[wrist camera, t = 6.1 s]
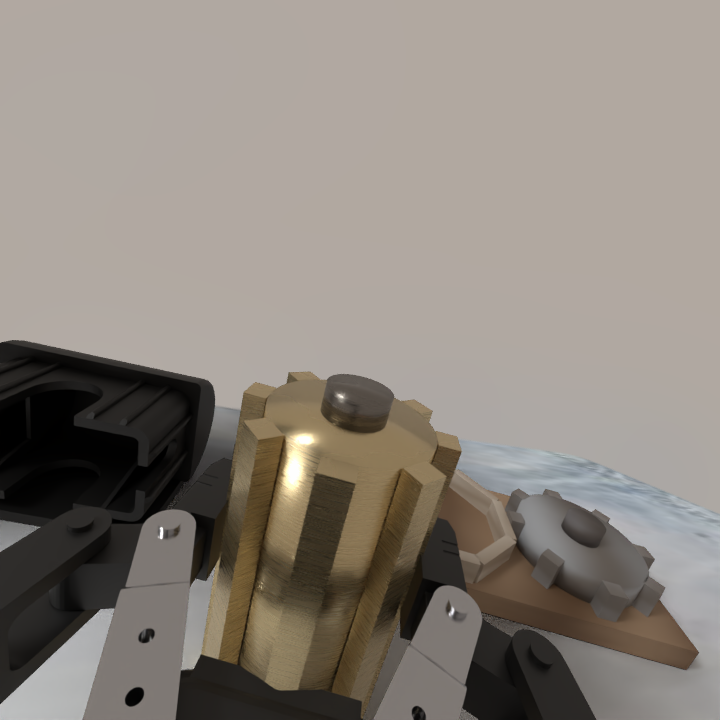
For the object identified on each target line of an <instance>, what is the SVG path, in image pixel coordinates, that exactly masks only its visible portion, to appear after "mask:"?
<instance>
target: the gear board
mask: <svg viewBox="0 0 720 720" xmlns="http://www.w3.org/2000/svg"><path fill="white" fill-rule="evenodd" d="M234 449H235V445H234ZM233 456H234V452H233ZM232 460H233V458H232ZM438 518H441V519H445V520H448V522H449V523H450V525H451V526H452V528H453V530H454V531H455V533H456V538H457V543H458V545H457V547H458V548H459V553H460V555H459V557H460V558H461V563H462V568H463V573H464V578H465V583H466V588H467V593H468V595H470V596H471V597H472V598H473V600H474V601H475V602H476V603H477V605H478V607H479V609H480V611H481V612H483V613H487V614H490V615H494V616H497V617H501V618H504V619H508V620H511V621H515V622H518V623H522V624H526V625H529V626H533V627H536V628H540V629H543V630H547V631H550V632H554V633H557V634H561V635H565V636H568V637H572V638H575V639H579V640H582V641H586V642H589V643H593V644H596V645H600V646H604V647H607V648H611V649H614V650H618V651H621V652H625V653H628V654H632V655H635V656H639V657H643V658H646V659H650V660H653V661H657V662H660V663H664V664H667V665H671V666H674V667H678V668H682V669H685V670H687V668H688V667H689V666H690V664H691V663H692V661H693V660H694V659H695V657H696V656H697V655H698V653H699V652H698V651H697V649H696V648H695V647H694V645H693V644H692V643H691V641H690V640H689V639H688V637H687V636H686V635H685V633H684V632H683V631H682V629H681V628H680V627H679V625H678V624H677V623H676V621H675V620H674V619H673V617H672V616H671V615H670V613H669V612H668V611H667V609H666V608H665V607H664V605H663V604H662V603H661V601H660V600H659V598H660V597H661V595H662V593H663V591H664V589H665V587H664V586H662V585H661V584H659V583H658V582H656V581H655V580H653V579H652V578H650V577H649V568H650V567H651V565H652V563H653V562H654V560H655V559H654V558H653V557H652V555H651V554H650V553H649V552H648V551H647V549H646V548H645V547H642V546H638V545H634V544H632V543H631V542H630V541H629V540H628V539H627V538H626V537H625V536H624V535H623V534H621V533H620V532H619V531H618V530H617V529H615V528H614V527H613V526H611V525H610V524H609V523H608V521H609V520H610V518H609V517H607V516H605V515H604V514H602V513H601V512H599V511H597V510H596V509H595V510H594V511H593V512H590V511H588V510H586V509H584V508H582V507H580V506H578V505H576V504H574V503H571V502H569V501H566V500H563V499H562V497H561V496H560V494H559V493H558V492H555V491H551V490H547V489H545V491H544V493H543V495H540V494H536V495H528V494H526V493H525V492H523V491H522V490H520V489H517V490H515V491H513V492H512V494H511V496H507V495H504V494H500V493H496V492H493V491H489V490H486V489H485V488H483V487H482V486H480V485H479V484H478V483H476V482H475V481H474V480H472V479H471V478H469V477H468V476H467V475H465V474H464V473H463V472H461V471H460V470H456V469H455V471H454V474H453V476H452V479H451V482H450V484H449V487H448V490H447V492H446V495H445V498H444V501H443V503H442V506H441V509H440V511H439V514H438Z"/></svg>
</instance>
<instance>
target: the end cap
mask: <svg viewBox="0 0 720 720" xmlns="http://www.w3.org/2000/svg"><path fill="white" fill-rule="evenodd" d="M214 408H215V394H214V389H213V386H212V384H211V383H210V382H209V381H207V380H205V379H201V378H196V377H191V376H187V375H182V374H178V373H173V372H168V371H163V370H159V369H154V368H149V367H145V366H140V365H135V364H131V363H126V362H121V361H116V360H112V359H107V358H103V357H98V356H93V355H89V354H84V353H79V352H75V351H70V350H65V349H61V348H56V347H50V346H47V345H42V344H37V343H32V342H28V341H19V340H12V341H6V342H1V343H0V520H5V521H11V522H17V523H22V524H28V525H34V526H40V527H42V526H44V525H45V524H47V523H49V522H50V521H52V520H54V519H55V518H57V517H58V516H60V515H62V514H64V513H66V512H68V511H70V510H74V509H77V508H82V507H98V508H102V509H105V510H106V511H108V512H109V513H110V515H111V517H112V524H143V523H145V521H146V520H147V519H148V518H150V517H151V516H152V515H154V514H156V513H158V512H161V511H165V510H166V508H167V507H168V505H169V504H170V503H171V501H172V500H173V498H174V497H175V495H176V494H177V493H178V491H179V489H180V488H181V486H182V484H183V482H187V481H189V480H190V478H191V477H192V475H193V473H194V472H195V470H196V468H197V466H198V464H199V462H200V459H201V457H202V455H203V452H204V450H205V447H206V444H207V441H208V438H209V434H210V430H211V426H212V422H213V416H214Z"/></svg>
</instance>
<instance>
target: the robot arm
mask: <svg viewBox="0 0 720 720" xmlns="http://www.w3.org/2000/svg"><path fill="white" fill-rule="evenodd" d="M232 462H233V460H228V459H225V458H223V459H221V460H219V461H217V462H216V463H214V464H212V465H211V466H210V467H209V468H208V469H207V470H206V471H205V472H204V473H203V476H201V477H200V478H199V479H198V480H197V482H196V483H195V484H194V485H193V486H192V487H191V488H190V489H189V490H188V491H187V493H186V494H185V495H184V496H183V497H182V498H181V499H180V500H179V502H178V503H177V504H176V505H175V506H174V507H173V508H172V509H171V510H165V511H161V512H158V513H156V514H154V515H152V516H151V517H150V518H148V519H147V520H146V521H145V523H143V524H112V517H111V515H110V513H109V512H108V511H106V510H105V509H102V508H98V507H82V508H77V509H74V510H70V511H68V512H66V513H64V514H62V515H60V516H58V517H57V518H55V519H54V520H52V521H50V522H49V523H47V524H45V525H44V526H42V527H41V528H39V529H37V530H36V531H34V532H32V533H31V534H29V535H28V536H26V537H24V538H23V539H21V540H19V541H18V542H16V543H15V544H13V545H11V546H10V547H8V548H6V549H5V550H3V551H2V552H0V704H1V703H2V702H3V701H4V700H5V699H6V698H7V697H8V696H9V695H10V694H11V693H13V692H14V691H15V690H16V689H17V688H18V687H19V686H20V685H21V684H22V683H23V682H24V681H25V680H26V679H27V678H28V677H29V676H31V675H32V674H33V673H34V672H35V671H36V670H37V669H38V668H39V667H40V666H41V665H42V664H43V663H44V662H45V661H46V660H47V659H48V658H50V657H51V656H52V655H53V654H54V653H55V652H56V651H57V650H58V649H59V648H60V647H61V646H62V645H63V644H64V643H65V642H66V641H68V640H69V639H70V638H71V637H72V636H73V635H74V634H75V633H76V632H77V631H78V630H79V629H80V628H81V627H82V626H83V625H84V624H85V623H87V622H88V621H89V620H90V619H91V618H92V617H93V616H94V615H95V614H96V613H97V612H98V611H99V610H100V609H110V608H115V610H114V614H113V617H112V621H111V624H110V627H109V631H108V634H107V638H106V641H105V645H104V648H103V652H102V655H101V659H100V662H99V665H98V669H97V672H96V676H95V679H94V683H93V686H92V690H91V693H90V696H89V700H88V703H87V707H86V710H85V714H84V717H83V720H363V719H361V708H362V701H360V700H356V699H353V698H349V697H346V696H342V695H339V694H336V693H332V692H329V691H325V690H277V689H275V688H273V687H271V686H270V685H268V684H267V683H265V682H264V681H262V680H261V679H259V678H258V677H256V676H255V675H253V674H252V673H250V672H249V671H247V670H246V669H244V668H243V667H241V666H240V665H236V664H233V663H229V662H226V661H222V660H219V659H215V658H212V657H209V656H205V655H202V654H201V656H200V658H199V660H198V662H197V664H196V666H195V668H194V669H190V670H181V664H182V655H183V645H184V636H185V627H186V617H187V608H188V599H189V589H190V586H191V584H192V583H193V581H194V580H195V578H196V579H200V580H203V581H206V580H207V578H208V577H209V575H210V573H211V572H212V570H213V568H214V567H215V565H216V563H217V561H218V560H219V554H220V548H221V542H222V536H223V529H224V523H225V517H226V511H227V505H228V500H226V499H227V493H228V486H229V480H230V474H231V468H232ZM457 545H458V543H457V538H456V533H455V531H454V530H453V528H452V526H451V525H450V523H449V522H448V520H445V519H441V518H438V517H437V519H436V522H435V525H434V527H433V530H432V533H431V536H430V538H429V541H428V544H427V546H426V549H425V552H424V554H421V556H420V559H419V562H418V564H417V567H416V570H415V572H414V575H413V578H412V581H411V583H410V586H409V589H408V592H407V594H406V597H405V600H404V602H403V605H402V608H401V611H400V638H404V639H407V640H410V641H411V643H410V644H409V645H408V647H407V649H406V651H405V653H404V655H403V658H402V660H401V662H400V664H399V666H398V668H397V670H396V672H395V674H394V677H393V679H392V681H391V683H390V685H389V687H388V689H387V691H386V694H385V696H384V698H383V700H382V702H381V704H380V706H379V708H378V710H377V713H376V715H375V717H374V719H373V720H459V717H460V714H461V710H462V708H463V709H464V710H466V711H467V712H469V713H470V714H472V715H473V716H475V717H476V718H478V720H596V718H595V716H594V714H593V712H592V711H591V709H590V707H589V705H588V703H587V701H586V699H585V697H584V696H583V694H582V692H581V690H580V688H579V686H578V684H577V683H576V681H575V679H574V677H573V675H572V673H571V671H570V669H569V668H568V666H567V664H566V662H565V660H564V658H563V657H562V655H561V654H560V652H559V651H558V650H557V648H556V647H555V646H554V645H553V644H552V643H551V642H550V641H549V640H547V639H546V638H545V637H543V636H542V635H540V634H538V633H536V632H534V631H531V630H524V629H523V630H519V631H517V632H516V633H515V634H514V636H513V638H512V637H511V636H509V635H507V634H505V633H504V632H502V631H500V630H499V629H497V628H495V627H494V626H492V625H491V624H489V623H488V622H486V621H485V620H484V619H483V618H482V614H481V611H480V609H479V607H478V605H477V603H476V602H475V601H474V600H473V598H472V597H471V596H470V595H468V593H467V588H466V583H465V578H464V573H463V568H462V563H461V558H460V557H459V555H460V553H459V548H458V547H457Z"/></svg>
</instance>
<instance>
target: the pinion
mask: <svg viewBox="0 0 720 720" xmlns="http://www.w3.org/2000/svg"><path fill="white" fill-rule="evenodd" d="M432 412H433V411H432V410H430V409H428V408H427V407H425V406H424V405H422V404H421V403H419V402H417V401H416V400H408V401H400V400H398V399H396V398H394V394H393V393H392V391H391V390H390V389H388V388H387V387H386V386H384V385H383V384H381V383H379V382H376V381H374V380H371V379H368V378H365V377H361V376H356V375H349V374H338V375H333V376H331V377H329V378H328V379H327V380H320V379H319V378H318V377H317V376H315V375H314V374H313V373H311V372H289V374H288V379H287V384H285V385H282V386H280V387H278V388H277V389H276V388H275V387H271V386H268V385H264V384H260V383H257V382H255V383H254V384H253V385H252V386H250V387H249V388H248V389H247V390H246V391H245V392H244V394H243V400H242V406H241V412H240V419H239V425H238V431H237V437H236V443H235V449H234V456H233V462H232V468H231V474H230V480H229V486H228V493H227V499H226V500H228V505H227V511H226V517H225V523H224V529H223V536H222V542H221V548H220V554H219V560H218V561H217V563H216V566H215V573H214V579H213V585H212V591H211V597H210V603H209V610H208V616H207V622H206V628H205V634H204V640H203V647H202V653H201V654H202V655H205V656H209V657H212V658H215V659H219V660H222V661H226V662H229V663H233V664H236V665H240V666H241V667H243V668H244V669H246V670H247V671H249V672H250V673H252V674H253V675H255V676H256V677H258V678H259V679H261V680H262V681H264V682H265V683H267V684H268V685H270V686H271V687H273V688H275V689H277V690H325V691H329V692H332V693H336V694H339V695H342V696H346V697H349V698H353V699H356V700H360V701H362V708H361V719H363V716H364V713H365V711H366V708H367V705H368V702H369V700H370V697H371V694H372V692H373V689H374V686H375V684H376V681H377V678H378V676H379V673H380V670H381V667H382V665H383V662H384V659H385V657H386V654H387V651H388V649H389V646H390V643H391V641H392V638H393V635H394V632H395V630H396V627H397V624H398V622H399V619H400V611H401V608H402V605H403V602H404V600H405V597H406V594H407V592H408V589H409V586H410V583H411V581H412V578H413V575H414V572H415V570H416V567H417V564H418V562H419V559H420V556H421V554H424V552H425V549H426V546H427V544H428V541H429V538H430V536H431V533H432V530H433V527H434V525H435V522H436V519H437V517H438V514H439V511H440V509H441V506H442V503H443V501H444V498H445V495H446V492H447V490H448V487H449V484H450V482H451V479H452V476H453V474H454V471H455V468H456V466H457V463H458V460H459V457H460V455H461V452H462V451H461V448H460V444H459V441H458V438H457V437H456V436H453V435H449V434H445V433H442V432H438V431H436V432H435V431H434V429H433V427H432V426H431V424H430V423H429V421H430V418H431V414H432Z"/></svg>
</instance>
